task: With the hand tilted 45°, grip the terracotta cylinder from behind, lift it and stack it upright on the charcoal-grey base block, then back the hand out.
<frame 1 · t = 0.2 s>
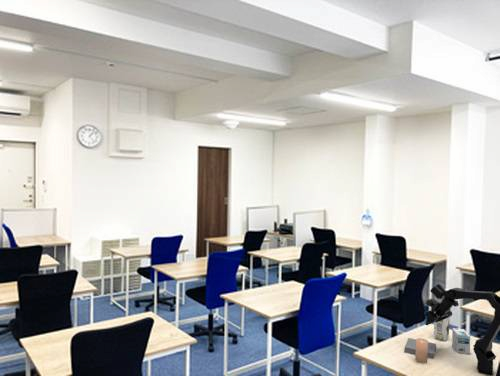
hand: (430, 323, 225), 15 cm above the table, tool tilted 35°, fingers open, 9 cm apart
base block: (420, 350, 222), on the table
juice carton: (441, 338, 240), on the table
terracotta cylinder: (421, 360, 210), on the table
light bulb box: (460, 350, 224), on the table
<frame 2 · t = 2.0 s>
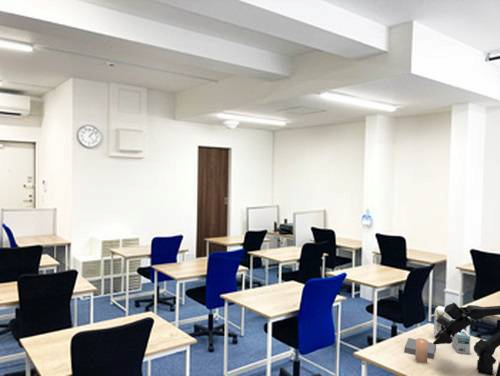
hand: (434, 340, 206), 13 cm above the table, tool tilted 45°, fingers open, 9 cm apart
nothing on the table moved.
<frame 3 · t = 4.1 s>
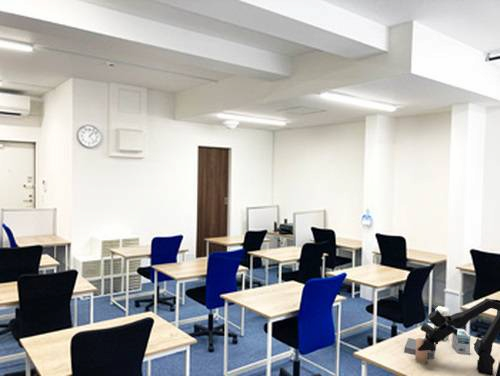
hand: (418, 347, 210), 7 cm above the table, tool tilted 45°, fingers closed on terracotta cylinder, 6 cm apart
terracotta cylinder: (421, 360, 210), on the table, touching gripper
everything else where it was.
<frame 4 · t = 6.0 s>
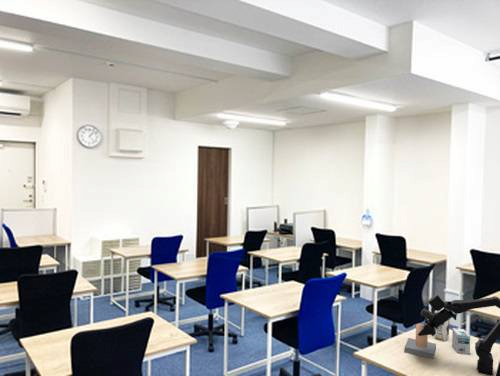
hand: (419, 333, 213), 13 cm above the table, tool tilted 45°, fingers closed on terracotta cylinder, 6 cm apart
terracotta cylinder: (421, 345, 213), point 7 cm above the table, touching gripper
everything else where it was.
when the fingers open (11 cm above the table, at t = 8.1 s): terracotta cylinder drops 1 cm, resting on base block.
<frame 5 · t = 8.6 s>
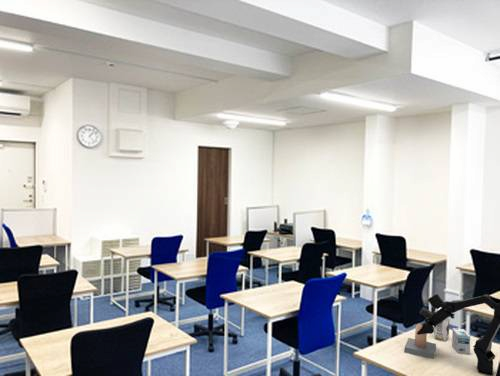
hand: (418, 331, 222), 11 cm above the table, tool tilted 45°, fingers open, 9 cm apart
terracotta cylinder: (420, 345, 222), point 3 cm above the table, touching base block
everything else where it was.
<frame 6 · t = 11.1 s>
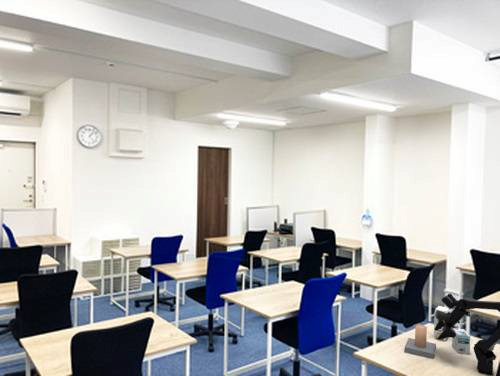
hand: (436, 334, 217), 11 cm above the table, tool tilted 35°, fingers open, 9 cm apart
nothing on the table moved.
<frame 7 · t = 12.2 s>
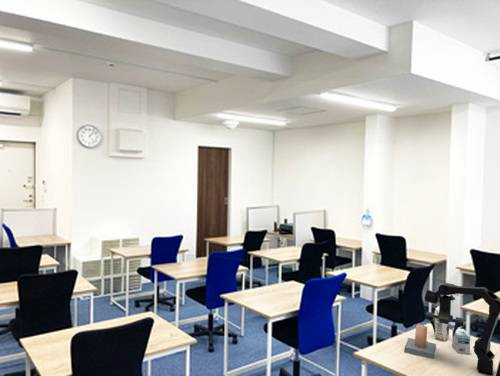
hand: (444, 334, 214), 13 cm above the table, tool pointing down, fingers open, 9 cm apart
nothing on the table moved.
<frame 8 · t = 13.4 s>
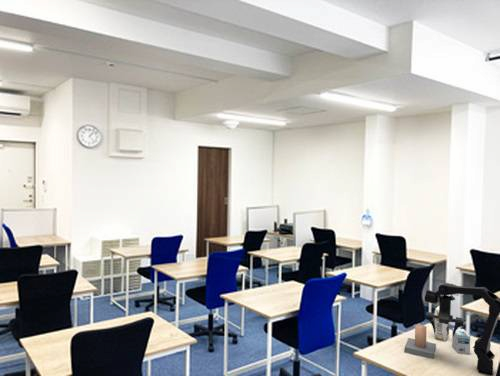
hand: (443, 334, 214), 13 cm above the table, tool pointing down, fingers open, 9 cm apart
nothing on the table moved.
at the end: terracotta cylinder inside the target area on the base block (0.1 cm from its centre), point 3.1 cm above the base block's base; terracotta cylinder tilted 1°; the gripper is holding nothing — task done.
